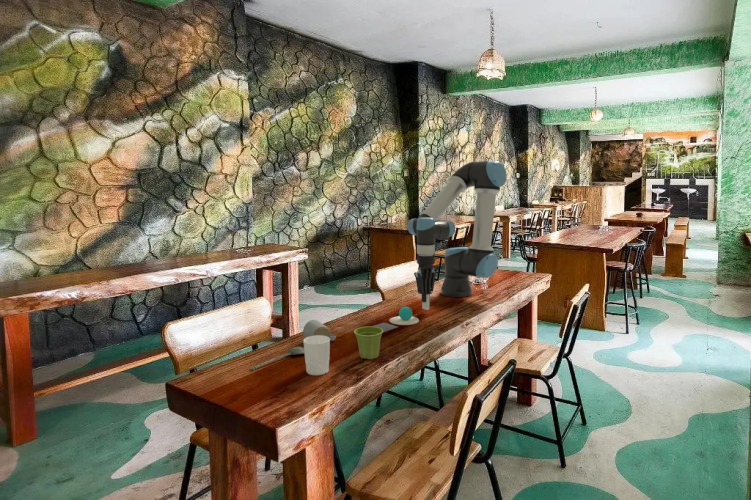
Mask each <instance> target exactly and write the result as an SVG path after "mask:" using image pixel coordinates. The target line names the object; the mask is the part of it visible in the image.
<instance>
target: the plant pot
mask: <svg viewBox="0 0 751 500" xmlns="http://www.w3.org/2000/svg"><path fill="white" fill-rule="evenodd" d="M353 333H354V335H355V338H356V341H357V346H358V352H359V353H358V354H359V357H360V358H361V359H363V358H364V360H365V359H367V360H375V359H377V358H378V357H379V356H380V345H381V338H382V336H383V335H382V334H383V333H384V332H383V330H382V329H381V328H378V327H372V326H362V327H361V326H360V327H358V328H355V329H354V330H353ZM374 358H375V359H374Z"/></svg>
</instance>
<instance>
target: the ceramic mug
mask: <svg viewBox="0 0 751 500" xmlns="http://www.w3.org/2000/svg"><path fill="white" fill-rule="evenodd" d="M302 331H303V333H302V334H303V337H304V339H305V338H307V337H310V336H315V335H322V336H327V337H329V338H330V342H335V340H336V336H335V335H334V334H332V333H331V331H330V329H329V327H328V326H326V325H325V324H323V323H322V322H321V321H319V320H317V319H312V320H309V321H307V322H306V323H305V324H304V327H303V330H302Z"/></svg>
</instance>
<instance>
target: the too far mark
mask: <svg viewBox="0 0 751 500" xmlns="http://www.w3.org/2000/svg"><path fill="white" fill-rule="evenodd" d="M371 327H378V328H381V329H382V330H383V333H386V332H389V331H392V330H394V329H397V328H399V325H398V326H397V325H395V324H392V323H387V322H381V323H378V324H375V325H372V326H371Z"/></svg>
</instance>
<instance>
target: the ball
mask: <svg viewBox="0 0 751 500" xmlns="http://www.w3.org/2000/svg"><path fill="white" fill-rule="evenodd" d="M398 316H400V318H401V319H403V320H409V319H410V318H411V317H413V310H412V309H411V308H410V307H409V306H403V307H401V308H400V309H399V310H398Z"/></svg>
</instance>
